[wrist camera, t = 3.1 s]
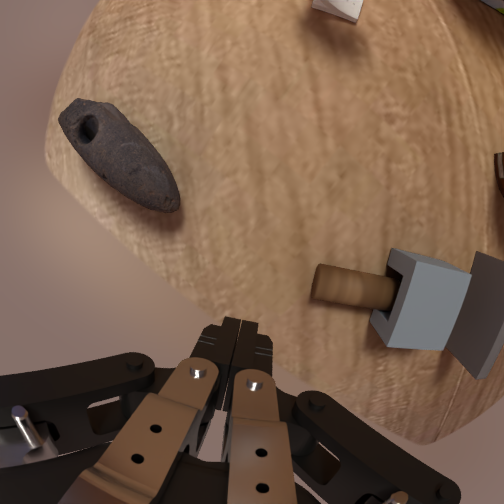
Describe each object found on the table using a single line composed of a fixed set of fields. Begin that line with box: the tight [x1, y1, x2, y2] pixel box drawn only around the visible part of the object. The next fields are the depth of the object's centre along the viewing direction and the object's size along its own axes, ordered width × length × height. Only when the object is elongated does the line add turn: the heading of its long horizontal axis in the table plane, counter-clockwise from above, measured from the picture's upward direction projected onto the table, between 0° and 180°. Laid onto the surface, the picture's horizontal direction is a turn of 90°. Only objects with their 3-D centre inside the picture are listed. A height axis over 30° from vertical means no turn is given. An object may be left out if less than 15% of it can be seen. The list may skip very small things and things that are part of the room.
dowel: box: [311, 264, 401, 311], centre depth 24 cm, size 8×3×3 cm, turn 79°
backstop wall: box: [445, 251, 504, 379], centre depth 21 cm, size 2×12×8 cm, turn 170°
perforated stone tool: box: [58, 98, 180, 213], centre depth 21 cm, size 15×5×7 cm, turn 43°
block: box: [370, 248, 472, 350], centre depth 22 cm, size 7×8×5 cm
